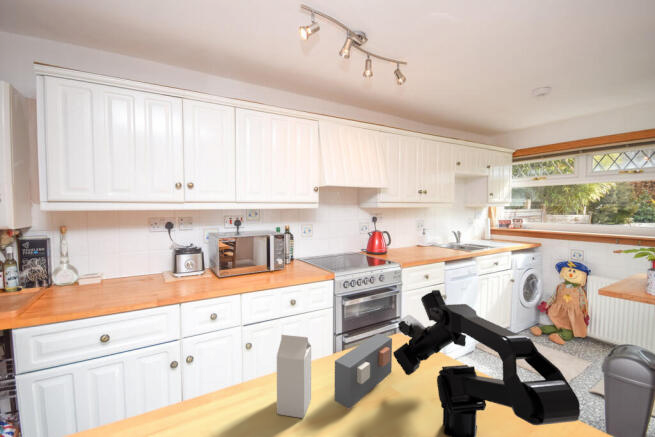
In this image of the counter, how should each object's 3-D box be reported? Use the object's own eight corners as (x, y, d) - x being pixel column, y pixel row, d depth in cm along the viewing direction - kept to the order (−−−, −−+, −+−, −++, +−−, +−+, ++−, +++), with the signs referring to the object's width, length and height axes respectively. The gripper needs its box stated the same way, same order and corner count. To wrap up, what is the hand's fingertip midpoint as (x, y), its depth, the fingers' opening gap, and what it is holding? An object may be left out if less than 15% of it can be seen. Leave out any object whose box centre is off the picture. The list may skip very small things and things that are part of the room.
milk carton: (303, 419, 72) (304, 343, 71) (276, 414, 73) (276, 340, 72) (311, 399, 79) (311, 331, 78) (286, 396, 80) (286, 328, 79)
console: (391, 372, 92) (392, 338, 91) (349, 409, 75) (349, 367, 74) (377, 366, 95) (378, 333, 94) (334, 400, 78) (334, 360, 78)
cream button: (369, 377, 80) (370, 363, 79) (361, 384, 77) (361, 369, 76) (364, 374, 81) (364, 361, 80) (355, 381, 78) (356, 367, 77)
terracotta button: (389, 361, 88) (390, 348, 88) (383, 366, 85) (383, 353, 85) (384, 359, 89) (384, 346, 89) (377, 364, 86) (377, 351, 86)
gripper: (430, 301, 86) (396, 326, 94) (401, 319, 72) (363, 348, 80) (457, 335, 81) (419, 359, 89) (431, 362, 68) (388, 387, 75)
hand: (398, 362), depth 84 cm, fingers closed
